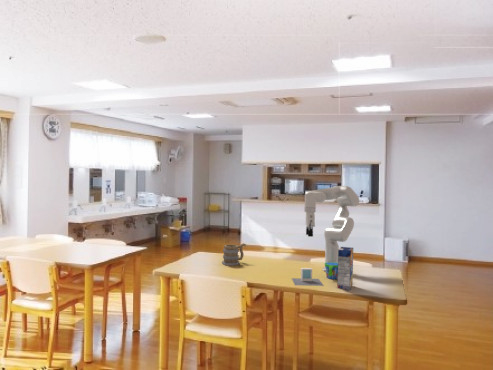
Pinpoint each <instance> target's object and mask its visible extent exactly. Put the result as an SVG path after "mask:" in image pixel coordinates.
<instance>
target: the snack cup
mask: <svg viewBox="0 0 493 370" xmlns="http://www.w3.org/2000/svg"><path fill="white" fill-rule="evenodd" d="M324 267H325V269H326V271H325V276H326V279H329V280H338V263H335V262H326V263H325V262H324Z"/></svg>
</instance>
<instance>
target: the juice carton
mask: <svg viewBox="0 0 493 370" xmlns="http://www.w3.org/2000/svg"><path fill="white" fill-rule="evenodd" d="M353 270H354V247H349V246H348V247H347V246H340V247H339V250H338V279H337V282H336V284H337V286H336V287H337V289H343V290H345V291H351V289H352V288H353V281H354V280H353V277H354V276H353V275H354V274H353V273H354V272H353Z"/></svg>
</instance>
